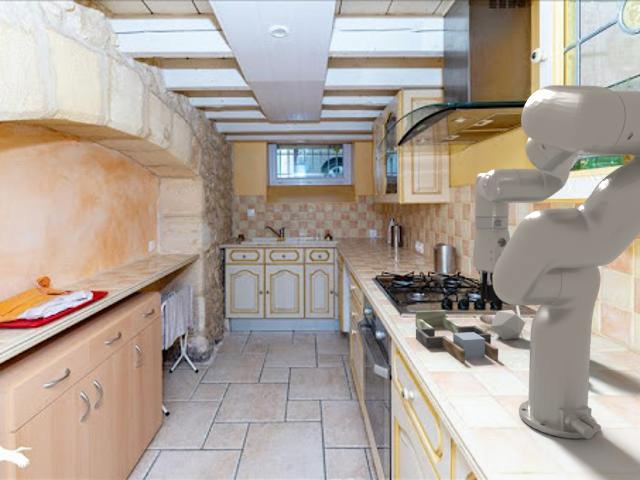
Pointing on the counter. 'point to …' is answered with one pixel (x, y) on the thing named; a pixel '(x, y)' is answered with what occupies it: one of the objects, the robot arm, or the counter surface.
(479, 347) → the block
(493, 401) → the counter surface
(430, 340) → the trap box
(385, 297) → the counter surface
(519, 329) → the grey faceted solid
